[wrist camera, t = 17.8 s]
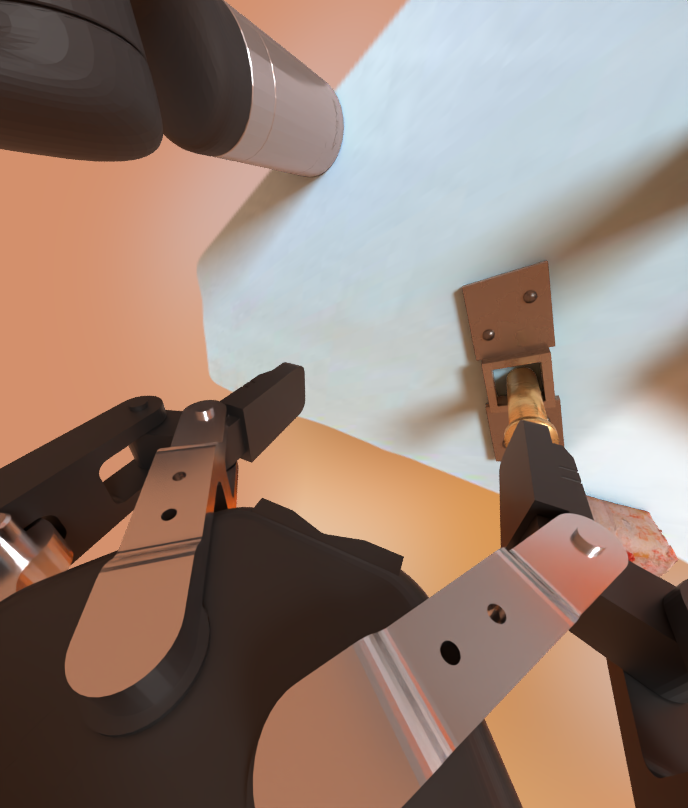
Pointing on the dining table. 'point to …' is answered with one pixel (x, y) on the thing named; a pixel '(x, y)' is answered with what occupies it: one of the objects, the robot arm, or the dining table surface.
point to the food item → (635, 535)
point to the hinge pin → (525, 402)
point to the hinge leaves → (513, 338)
